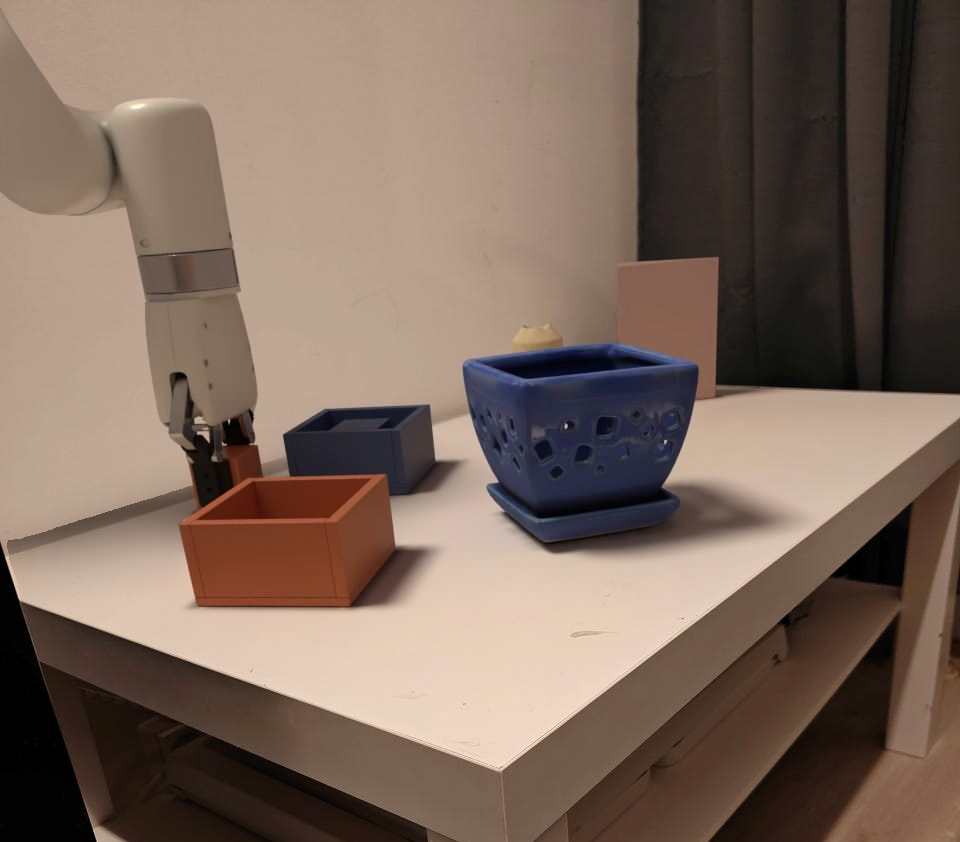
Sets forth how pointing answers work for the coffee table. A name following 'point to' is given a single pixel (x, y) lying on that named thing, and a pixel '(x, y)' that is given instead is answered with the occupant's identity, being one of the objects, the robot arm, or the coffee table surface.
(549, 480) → the flower pot
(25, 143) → the robot arm
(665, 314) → the greeting card
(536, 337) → the candle
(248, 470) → the terracotta block
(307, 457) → the navy bin
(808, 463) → the coffee table surface
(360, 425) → the navy block
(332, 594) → the terracotta bin
